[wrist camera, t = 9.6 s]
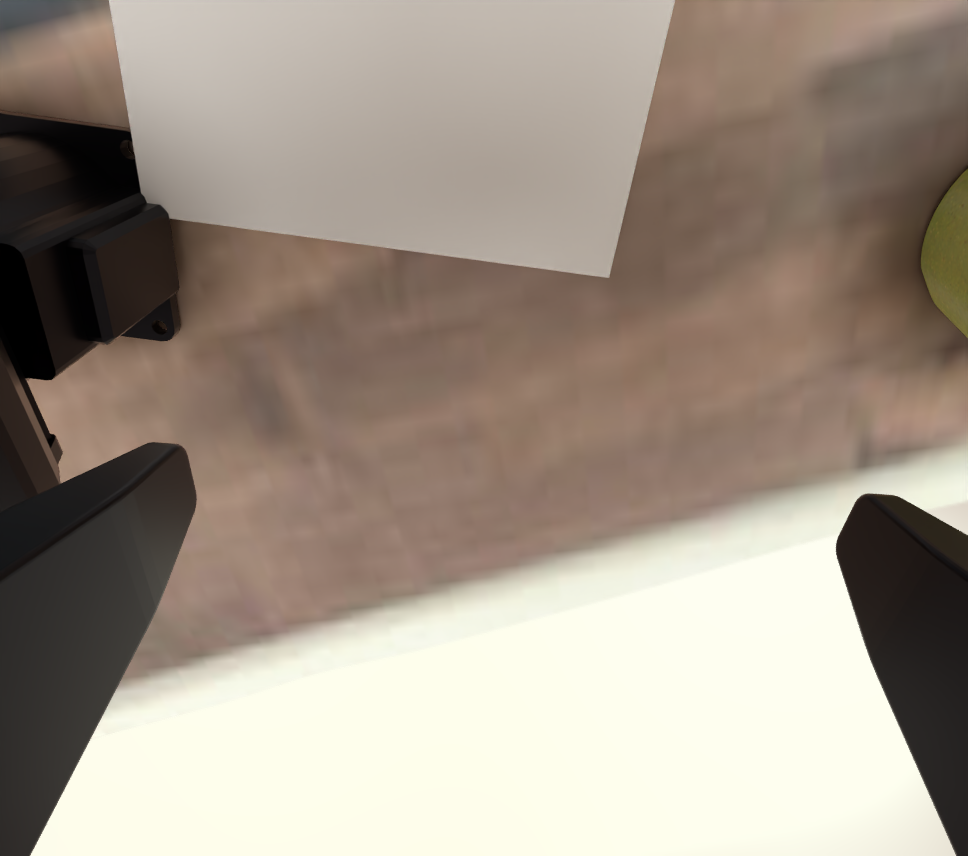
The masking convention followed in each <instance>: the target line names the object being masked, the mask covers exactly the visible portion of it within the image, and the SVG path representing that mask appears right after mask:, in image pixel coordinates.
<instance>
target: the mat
mask: <svg viewBox="0 0 968 856" xmlns="http://www.w3.org/2000/svg"><path fill="white" fill-rule="evenodd" d="M674 3H675V0H109V4H110V10H111V16H112V22H113V28H114V34H115V40H116V46H117V52H118V58H119V64H120V70H121V76H122V82H123V88H124V94H125V100H126V106H127V112H128V118H129V124H130V130H131V135H132V141H133V147H134V153H135V159H136V165H137V171H138V177H139V183H140V189H141V194H142V195H143V196H144V197H145V199H146V201H147V203H151V204H159V205H161V206H162V207H163V208H164V209H165V210H166V211H167V213H168V214H169V219H176V220H184V221H191V222H199V223H206V224H213V225H221V226H228V227H236V228H243V229H250V230H258V231H265V232H273V233H280V234H287V235H295V236H302V237H310V238H317V239H324V240H332V241H339V242H347V243H354V244H362V245H369V246H376V247H384V248H391V249H399V250H406V251H413V252H421V253H428V254H436V255H443V256H450V257H458V258H465V259H473V260H480V261H487V262H495V263H502V264H510V265H517V266H524V267H532V268H539V269H547V270H554V271H561V272H569V273H576V274H584V275H591V276H599V277H606V278H609V276H610V272H611V267H612V263H613V259H614V255H615V251H616V246H617V242H618V238H619V234H620V230H621V225H622V221H623V217H624V213H625V209H626V204H627V200H628V196H629V192H630V188H631V183H632V179H633V175H634V171H635V167H636V162H637V158H638V154H639V150H640V146H641V141H642V137H643V133H644V129H645V125H646V120H647V116H648V112H649V108H650V104H651V99H652V95H653V91H654V87H655V83H656V78H657V74H658V70H659V66H660V62H661V57H662V53H663V49H664V45H665V41H666V36H667V32H668V28H669V24H670V20H671V15H672V11H673V7H674Z"/></svg>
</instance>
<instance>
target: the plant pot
mask: <svg viewBox="0 0 968 856" xmlns="http://www.w3.org/2000/svg"><path fill="white" fill-rule="evenodd" d="M921 270H922V273H923V276H924V279H925V282H926V284H927V287H928V290H929V293H930V295H931V297H932V299H933V302H934V303H935V305H936V306H937V307H938V308H939V309H940V311H941V312H942V313H943V314H944V315H945V316H946V317H947V318H948V319H949V320H950V321H951V322H952V323H953V324H954V325H955V326H956V327H957V328H958V329H959V330H960V331H961V332H962V333H963V334H964V335H965V336H966V337H967V338H968V169H967V170H966V171H965V172H964V173H963V174H962V175H961V176H960V177H959V178H958V179H957V180H956V181H955V183H954V184H953V185H952V186H951V187H950V189H949V190H948V192H947V193H946V195H945V196H944V197H943V199H942V200H941V202H940V204H939V206H938V207H937V209H936V211H935V213H934V215H933V217H932V219H931V221H930V224H929V226H928V229H927V232H926V235H925V238H924V242H923V246H922V252H921Z"/></svg>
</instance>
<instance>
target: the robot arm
mask: <svg viewBox="0 0 968 856" xmlns="http://www.w3.org/2000/svg"><path fill="white" fill-rule="evenodd" d="M128 141H131V142H133V141H132V135H131V130H130V128H124V127H117V126H110V125H102V124H95V123H88V122H81V121H74V120H66V119H59V118H52V117H45V116H38V115H30V114H23V113H16V112H9V111H2V110H0V856H30V855H31V853H32V851H33V849H34V847H35V845H36V843H37V841H38V839H39V837H40V836H41V834H42V832H43V830H44V828H45V826H46V824H47V822H48V820H49V818H50V816H51V814H52V812H53V810H54V808H55V807H56V805H57V803H58V801H59V799H60V797H61V795H62V793H63V791H64V789H65V787H66V785H67V783H68V781H69V780H70V777H71V776H72V774H73V771H74V770H75V768H76V766H77V764H78V762H79V760H80V758H81V756H82V754H83V752H84V750H85V749H86V747H87V745H88V743H89V741H90V739H91V737H92V735H93V733H94V731H95V729H96V727H97V725H98V723H99V722H100V720H101V718H102V716H103V714H104V712H105V710H106V708H107V706H108V704H109V702H110V700H111V698H112V696H113V694H114V692H115V691H116V689H117V687H118V685H119V683H120V681H121V679H122V677H123V675H124V673H125V671H126V669H127V667H128V665H129V663H130V662H131V660H132V658H133V656H134V654H135V652H136V650H137V648H138V646H139V644H140V642H141V640H142V638H143V636H144V634H145V633H146V631H147V629H148V627H149V625H150V623H151V621H152V618H153V616H154V614H155V612H156V610H157V608H158V605H159V603H160V601H161V598H162V596H163V593H164V591H165V588H166V586H167V583H168V580H169V578H170V575H171V572H172V570H173V567H174V564H175V562H176V559H177V557H178V554H179V551H180V549H181V546H182V543H183V541H184V538H185V535H186V533H187V530H188V528H189V525H190V522H191V520H192V517H193V514H194V511H195V508H196V500H197V498H196V490H195V485H194V481H193V477H192V472H191V468H190V464H189V459H188V455H187V453H186V450H185V449H184V448H183V447H182V446H181V445H179V444H170V443H156V442H152V443H147V444H145V445H143V446H140V447H138V448H136V449H134V450H132V451H130V452H128V453H126V454H123V455H121V456H119V457H117V458H115V459H113V460H111V461H108V462H106V463H104V464H102V465H100V466H98V467H96V468H93V469H91V470H89V471H87V472H85V473H83V474H81V475H78V476H76V477H74V478H72V479H70V480H68V481H66V482H63V483H60V475H59V467H58V463H59V461H60V459H61V456H62V454H63V451H62V449H61V447H60V445H59V442H58V440H57V438H56V436H55V435H54V434H50V433H49V430H48V428H47V426H46V424H45V422H44V419H43V417H42V415H41V413H40V410H39V408H38V406H37V404H36V401H35V399H34V397H33V395H32V392H31V390H30V388H29V386H28V383H27V380H29V379H30V378H33V379H41V380H52V379H54V378H55V377H56V376H58V375H59V374H60V373H62V372H63V371H64V370H66V369H67V368H68V367H69V366H71V365H72V364H73V363H75V362H76V361H77V360H79V359H80V358H81V357H83V356H84V355H85V354H87V353H88V352H89V351H91V350H92V349H93V348H95V347H96V346H97V345H99V344H106V345H107V344H111V343H112V342H113V341H114V340H116V339H117V338H118V337H120V336H126V337H133V338H141V339H149V340H157V341H168V340H170V339H172V338H173V337H174V336H175V335H176V334H177V333H178V332H179V330H180V321H179V314H178V308H177V301H176V295H175V293H176V292H177V291H178V290H179V281H178V275H177V268H176V261H175V254H174V247H173V241H172V234H171V227H170V220H169V214H168V213H167V211H166V210H165V209H164V208H163V207H162V206H161V205H159V204H151V203H147V201H146V199H145V197H144V196H143V195H142V194H141V189H140V183H139V177H138V171H137V165H136V159H135V156H134V155H132V154H131V153H130V152H129V149H128V147H127V143H128ZM158 320H159V321H162V322H163V323H164V324H165V325H166V327H167V330H166V329H163V328H161V327H160V326H159V324H158V322H157V321H158ZM836 555H837V559H838V562H839V565H840V568H841V571H842V575H843V578H844V581H845V584H846V587H847V590H848V593H849V596H850V600H851V602H852V606H853V609H854V612H855V615H856V618H857V622H858V625H859V628H860V631H861V634H862V637H863V640H864V643H865V646H866V649H867V652H868V655H869V657H870V660H871V662H872V665H873V667H874V670H875V672H876V675H877V677H878V679H879V681H880V684H881V686H882V688H883V691H884V693H885V695H886V697H887V700H888V702H889V704H890V706H891V708H892V711H893V713H894V716H895V718H896V720H897V722H898V725H899V727H900V729H901V731H902V734H903V736H904V738H905V741H906V743H907V745H908V747H909V750H910V752H911V754H912V756H913V759H914V761H915V763H916V765H917V768H918V770H919V772H920V775H921V777H922V779H923V781H924V784H925V786H926V788H927V790H928V792H929V795H930V797H931V799H932V802H933V804H934V806H935V809H936V811H937V813H938V815H939V818H940V820H941V822H942V824H943V827H944V829H945V831H946V833H947V836H948V838H949V840H950V843H951V845H952V847H953V849H954V852H955V854H956V856H968V535H966V534H964V533H962V532H961V531H959V530H957V529H955V528H953V527H952V526H950V525H948V524H946V523H945V522H943V521H941V520H939V519H937V518H936V517H934V516H932V515H930V514H929V513H927V512H925V511H923V510H922V509H920V508H918V507H916V506H914V505H913V504H911V503H909V502H907V501H906V500H904V499H902V498H900V497H898V496H894V495H883V494H864V495H862V496H861V497H859V498H858V499H857V501H856V502H855V504H854V506H853V508H852V510H851V512H850V514H849V516H848V518H847V520H846V522H845V524H844V526H843V528H842V530H841V532H840V534H839V536H838V539H837V543H836Z"/></svg>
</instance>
